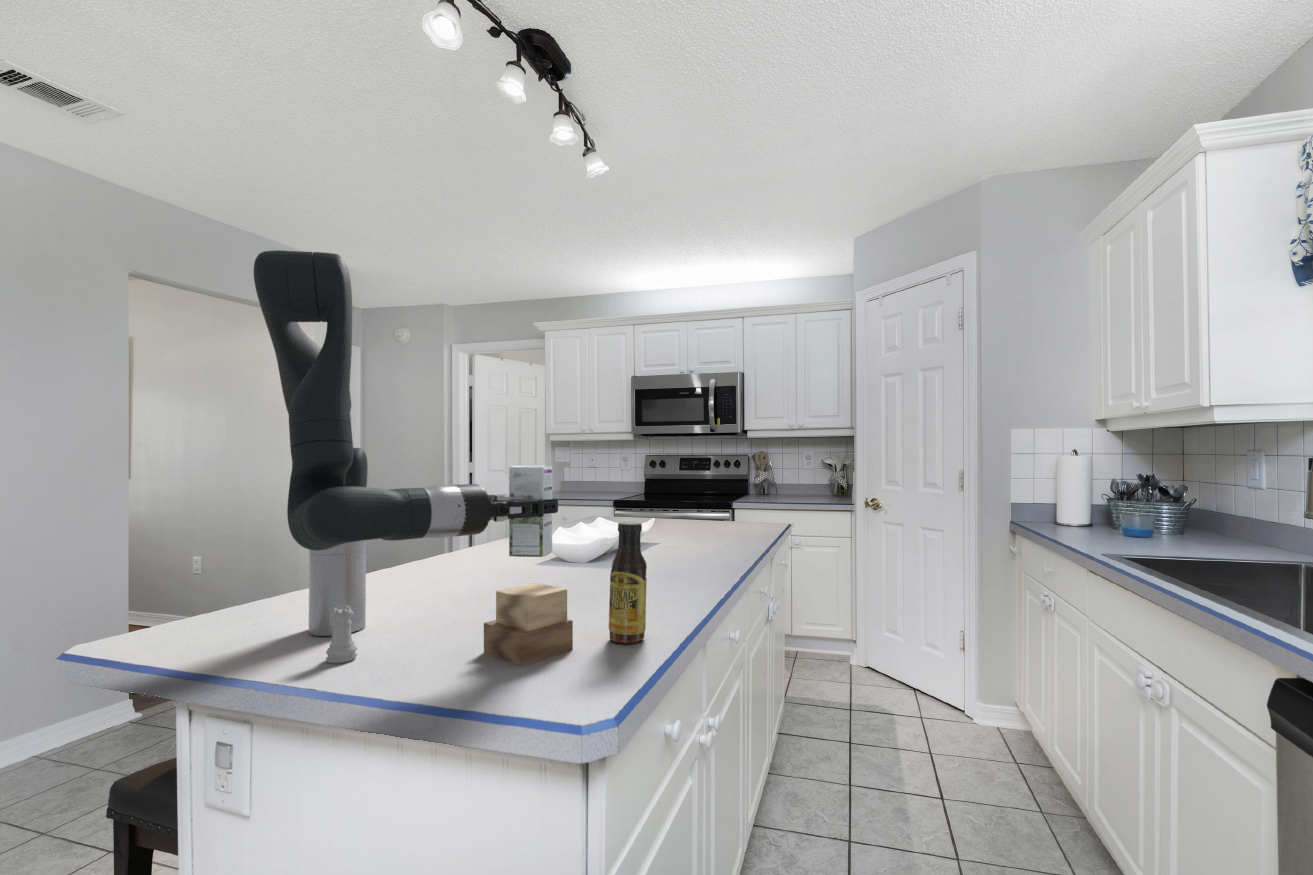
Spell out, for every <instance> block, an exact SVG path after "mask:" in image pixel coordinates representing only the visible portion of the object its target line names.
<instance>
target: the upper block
mask: <svg viewBox="0 0 1313 875" xmlns="http://www.w3.org/2000/svg"><path fill="white" fill-rule="evenodd" d="M567 619H568V589H567V588H563V587H562V588H561V587H558V586H552V585H548V584H544V583H543V584H542V583H538V582H534V583H529V584H523V585H518V586H513V587H510V588H504V589H499V590H496V591H495V620H496V623H499V624H503V625H506V626H510V627H513V628H517V629H520V630H524V631H527V632H528V631H532V630H535V629H539V628H542V627H546V626H549V625H553V624H556V623H560V622H563V621H567Z"/></svg>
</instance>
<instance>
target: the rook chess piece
mask: <svg viewBox="0 0 1313 875" xmlns="http://www.w3.org/2000/svg"><path fill="white" fill-rule="evenodd" d="M352 615H353V612H352V610H351V607H348V606H345V609H342V606H340V607H338V610H337V608H336V607H335V608H334V609H333V612H332V614H331V615H330V616H331V617H332V619H333V624H332V626H333V635H332V636H331V641H330V644H329V647H328V648H327V650H326V651H325V654H326V655H327V656H326V658H325V660H326V661H327V662H328V663H329V664H332V665H338V664H346V663H349V662H352V661H355V659H356V658H357V656H358V653H357V650H358V647H357V645H356V644H355V641H354V639H353V637H352V632H351V623H352V622H351V621H350V618H351V616H352Z"/></svg>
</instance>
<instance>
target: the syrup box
mask: <svg viewBox="0 0 1313 875" xmlns="http://www.w3.org/2000/svg"><path fill="white" fill-rule="evenodd" d="M508 473H509V474H508V480H509V482H508V484H509V485H508V490H509V492H508V494H509V496H508V497H524V499H525V500H534V499H541V500H544V499H553V466H552V465H550V464H549V465H548V464H544V465H543V464H536V465H534V464H533V465H532V464H531V465H527V464H525V465H524V464H523V465H522V464H521V465H512V466H509V468H508ZM512 501H517V500H512ZM531 512H532V505H531ZM508 529H509V530H508V533H509V534H508V535H509V536H508V545H509V546H508V550H509V551H508V552H509V553H508V556H509V557H513V558H514V557H517V558H518V557H519V558H537V557H538V558H543V557H546V556H548V555H551V553H553V513H549V514H544V516H541V517H529V518H523V519H514V520H508Z"/></svg>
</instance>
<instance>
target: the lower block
mask: <svg viewBox="0 0 1313 875" xmlns="http://www.w3.org/2000/svg"><path fill="white" fill-rule="evenodd" d="M573 621H574V620H572V619H568V618H567V621H563V622H560V623H556V624H553V625H549V626H546V627H542V628H539V629H535V630H532V631H528V632H527V631H524V630H520V629H517V628H513V627H510V626H506V625H503V624H499V623H496V619H494V620H491V621H490V620H489V621H486V622H483V653H484V654H486V655H489V656H491V657H495V658H497V659H500V660H503V661H506V662H509V663H511V664H514V665H516V666H519V667H524V666H528V665H531V664H534V663H537V662H540V661H543V660H546V659H549V658H552V657H555V656H558V655H561V654H564V653H567V652H571V651H573V650H574V646H573V645H574V641H573V640H574V639H573V636H574V635H573V634H574V633H573V630H574V628H573V626H574V624H573Z"/></svg>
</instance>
